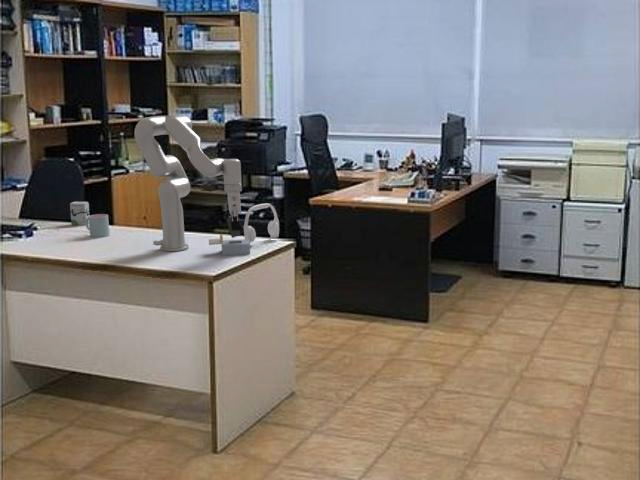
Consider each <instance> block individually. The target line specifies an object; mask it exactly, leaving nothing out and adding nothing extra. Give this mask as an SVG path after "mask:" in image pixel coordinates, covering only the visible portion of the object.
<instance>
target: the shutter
mask: <svg viewBox="0 0 640 480" xmlns="http://www.w3.org/2000/svg"><path fill="white" fill-rule="evenodd" d="M223 241H224V238H223V234H222V233H221V234H219V238H213V239H211V238H210V239H208V246H212V245H222V244H223Z"/></svg>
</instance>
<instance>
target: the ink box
mask: <svg viewBox="0 0 640 480" xmlns="http://www.w3.org/2000/svg"><path fill="white" fill-rule="evenodd" d="M69 206H70V207H69V208H70V209H69V211H70V221H71V224H70V225H72V226H86V219H87V218H88V217H89V216H90V204H89V202H88V201H73V202H70V203H69ZM88 225H89V220H88Z"/></svg>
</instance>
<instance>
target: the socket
mask: <svg viewBox="0 0 640 480" xmlns="http://www.w3.org/2000/svg"><path fill="white" fill-rule="evenodd" d="M221 254H222V256H235V255H239V254H240V255H250V254H251V242H250V243H249V240H248V239H245V238H243V239H230V240H229V239H228V240H224V239H223V244H221Z"/></svg>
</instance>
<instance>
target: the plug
mask: <svg viewBox="0 0 640 480" xmlns="http://www.w3.org/2000/svg"><path fill="white" fill-rule="evenodd" d="M231 221H232V215H231V214H230V215H228V218H226V223H227V226H228V230H229V233H230V236H231V239H233V238H237V237H241V231H240V229H239V230H232V224H231Z"/></svg>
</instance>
